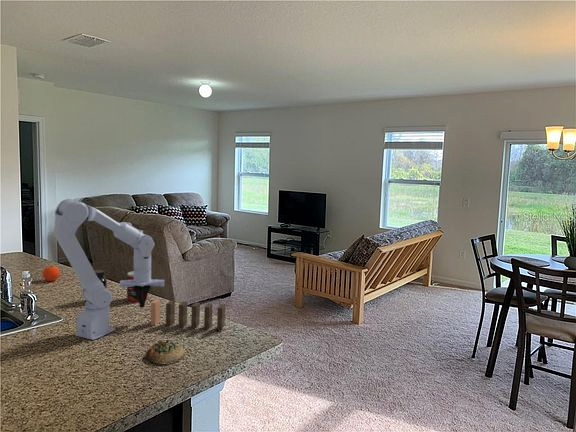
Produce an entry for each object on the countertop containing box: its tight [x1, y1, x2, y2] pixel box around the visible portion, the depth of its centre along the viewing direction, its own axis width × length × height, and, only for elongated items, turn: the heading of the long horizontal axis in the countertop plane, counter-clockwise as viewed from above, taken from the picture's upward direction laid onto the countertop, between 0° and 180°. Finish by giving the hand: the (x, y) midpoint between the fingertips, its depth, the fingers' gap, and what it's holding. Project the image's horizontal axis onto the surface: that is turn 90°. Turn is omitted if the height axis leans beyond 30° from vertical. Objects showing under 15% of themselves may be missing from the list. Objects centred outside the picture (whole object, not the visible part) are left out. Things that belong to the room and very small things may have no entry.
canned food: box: [126, 270, 148, 303], centre depth 175 cm, size 8×8×11 cm
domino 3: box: [178, 300, 188, 328], centre depth 149 cm, size 2×4×8 cm, turn 174°
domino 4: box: [190, 301, 201, 329], centre depth 148 cm, size 2×4×8 cm, turn 174°
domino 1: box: [150, 298, 161, 326], centre depth 150 cm, size 2×4×8 cm, turn 174°
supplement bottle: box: [93, 269, 108, 289], centre depth 170 cm, size 7×7×12 cm
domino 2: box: [165, 299, 176, 327], centre depth 149 cm, size 2×4×8 cm, turn 174°
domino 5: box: [203, 303, 213, 330], centre depth 148 cm, size 2×4×8 cm, turn 174°
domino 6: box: [216, 304, 226, 331], centre depth 147 cm, size 2×4×8 cm, turn 174°
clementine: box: [42, 265, 61, 282], centre depth 196 cm, size 8×7×7 cm
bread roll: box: [145, 339, 186, 365], centre depth 125 cm, size 11×11×5 cm
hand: (142, 306), depth 150 cm, fingers closed
